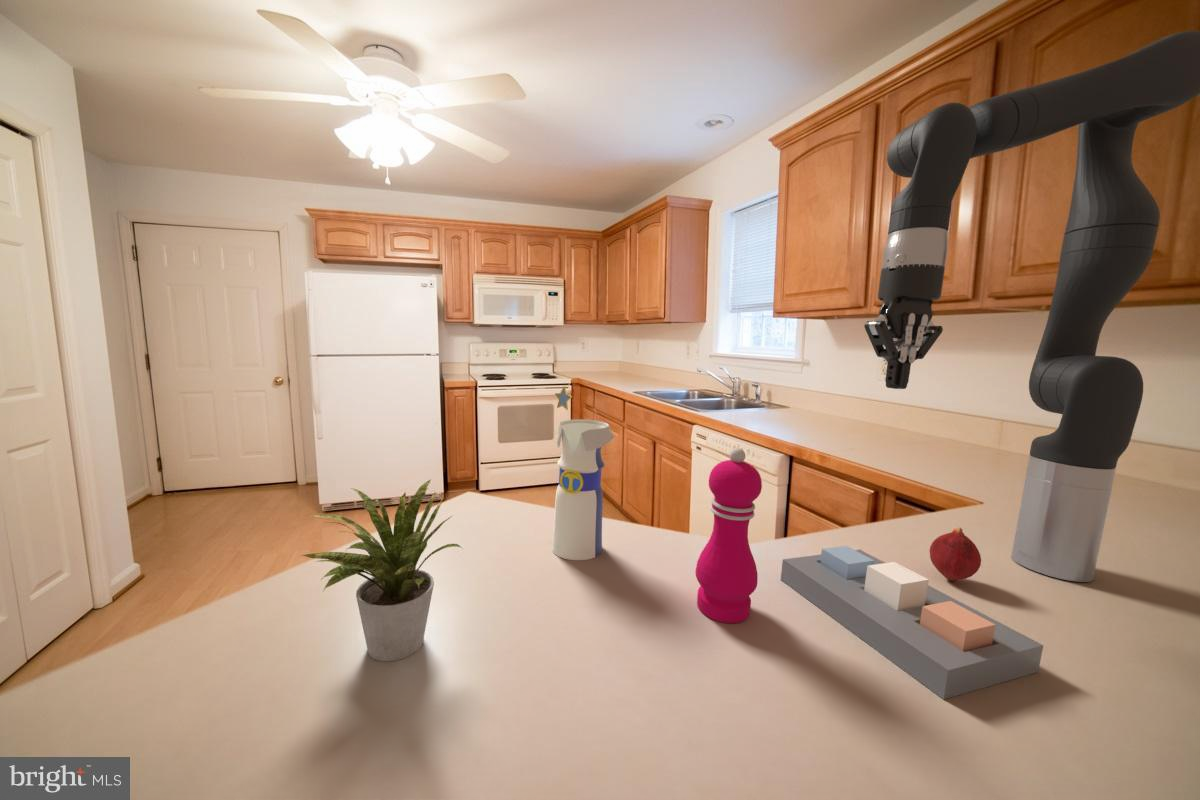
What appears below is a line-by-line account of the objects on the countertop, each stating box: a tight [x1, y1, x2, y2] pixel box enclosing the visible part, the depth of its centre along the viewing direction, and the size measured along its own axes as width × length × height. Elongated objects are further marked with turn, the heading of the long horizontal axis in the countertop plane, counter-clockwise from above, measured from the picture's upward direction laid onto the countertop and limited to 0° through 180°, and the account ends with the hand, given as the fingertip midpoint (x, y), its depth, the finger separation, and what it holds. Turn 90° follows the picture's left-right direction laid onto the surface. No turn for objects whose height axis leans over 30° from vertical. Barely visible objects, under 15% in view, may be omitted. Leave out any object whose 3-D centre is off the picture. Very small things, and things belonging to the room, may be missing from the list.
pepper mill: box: [695, 447, 763, 624], centre depth 54 cm, size 7×7×20 cm
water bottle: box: [551, 385, 615, 561], centre depth 67 cm, size 8×9×25 cm
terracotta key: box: [920, 601, 995, 652], centre depth 48 cm, size 4×4×4 cm
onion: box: [929, 526, 982, 582], centre depth 65 cm, size 6×6×8 cm
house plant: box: [301, 479, 464, 662], centre depth 46 cm, size 14×14×16 cm
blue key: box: [820, 545, 874, 580], centre depth 61 cm, size 4×4×4 cm
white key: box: [864, 561, 929, 611], centre depth 55 cm, size 4×4×4 cm
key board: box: [780, 549, 1044, 700], centre depth 55 cm, size 14×22×3 cm, turn 19°
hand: (895, 388), depth 66 cm, fingers closed
